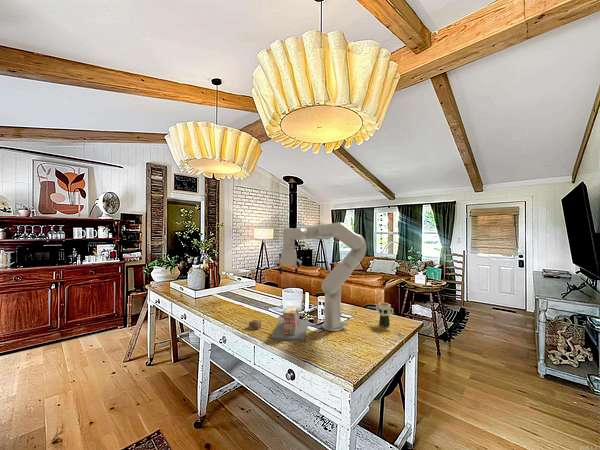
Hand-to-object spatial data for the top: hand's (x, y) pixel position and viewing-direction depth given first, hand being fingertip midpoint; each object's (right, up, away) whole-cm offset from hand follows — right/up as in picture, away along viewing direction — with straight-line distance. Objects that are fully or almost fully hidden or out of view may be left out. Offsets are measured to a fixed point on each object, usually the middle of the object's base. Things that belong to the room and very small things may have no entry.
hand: (288, 274), depth 168 cm
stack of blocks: (+3, -29, -13) cm, 32 cm away
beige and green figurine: (+60, -31, -5) cm, 67 cm away
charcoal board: (+2, -30, -13) cm, 33 cm away
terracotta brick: (-1, -31, +10) cm, 32 cm away
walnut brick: (-20, -30, -10) cm, 38 cm away
